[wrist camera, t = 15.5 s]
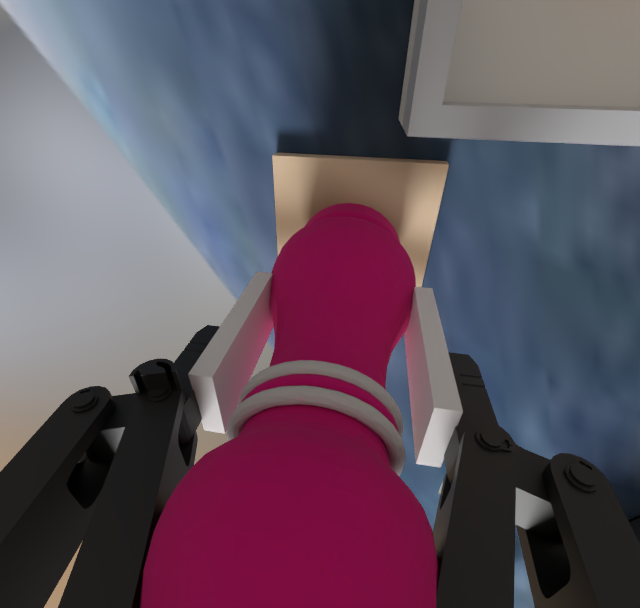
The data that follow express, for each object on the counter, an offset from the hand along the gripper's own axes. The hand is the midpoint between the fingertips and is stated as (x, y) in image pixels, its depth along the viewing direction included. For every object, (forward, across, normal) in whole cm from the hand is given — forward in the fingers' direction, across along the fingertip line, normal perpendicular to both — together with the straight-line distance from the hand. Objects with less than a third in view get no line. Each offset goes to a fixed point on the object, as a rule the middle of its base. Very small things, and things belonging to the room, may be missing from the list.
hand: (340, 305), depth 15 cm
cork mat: (+8, 0, 0) cm, 8 cm away
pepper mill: (+6, 0, 0) cm, 6 cm away
